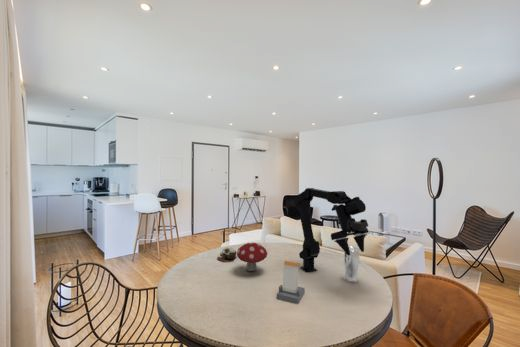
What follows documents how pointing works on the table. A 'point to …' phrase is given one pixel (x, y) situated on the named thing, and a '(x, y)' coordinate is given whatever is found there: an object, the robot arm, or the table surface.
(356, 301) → the table surface
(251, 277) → the table surface
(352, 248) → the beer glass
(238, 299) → the table surface
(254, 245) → the decorative mushroom
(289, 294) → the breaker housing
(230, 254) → the skull
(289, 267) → the lever
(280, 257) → the table surface
